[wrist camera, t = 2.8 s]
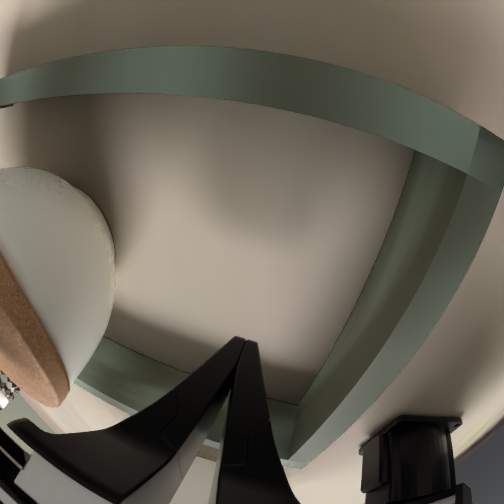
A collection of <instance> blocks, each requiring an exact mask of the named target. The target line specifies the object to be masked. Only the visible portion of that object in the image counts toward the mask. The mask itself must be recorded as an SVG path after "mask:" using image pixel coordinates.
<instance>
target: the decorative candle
mask: <svg viewBox="0 0 504 504" xmlns="http://www.w3.org/2000/svg"><path fill="white" fill-rule="evenodd" d="M13 392H17V393H18V392H20V388H19V387H18V386H17V385H16V384H15V383H13V382H12V381H11V380H10V379H9V378H8V377H7V376H6V375H5V374H4V373H3V372H2V370H1V369H0V410H1V409H2V408H4V407H5V406H6V405H7V403H8V402H9V401H8V399H10V400H13V399H14V396H13Z"/></svg>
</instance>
